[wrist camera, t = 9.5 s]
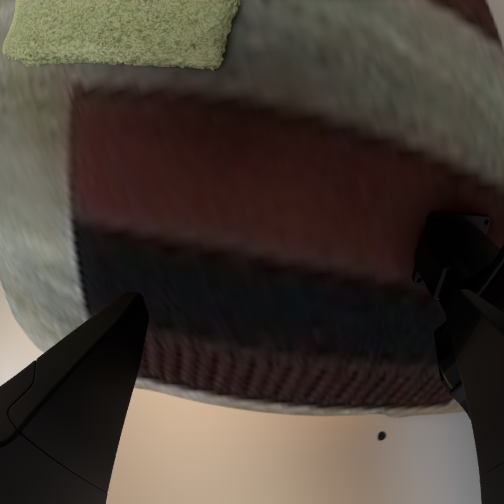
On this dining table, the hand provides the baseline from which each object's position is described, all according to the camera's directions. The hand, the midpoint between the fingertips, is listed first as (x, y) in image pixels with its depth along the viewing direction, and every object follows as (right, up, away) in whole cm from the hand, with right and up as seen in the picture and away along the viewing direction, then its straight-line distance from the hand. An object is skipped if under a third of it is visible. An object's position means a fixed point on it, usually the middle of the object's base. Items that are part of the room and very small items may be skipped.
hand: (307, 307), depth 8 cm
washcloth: (-10, +19, +5) cm, 22 cm away
